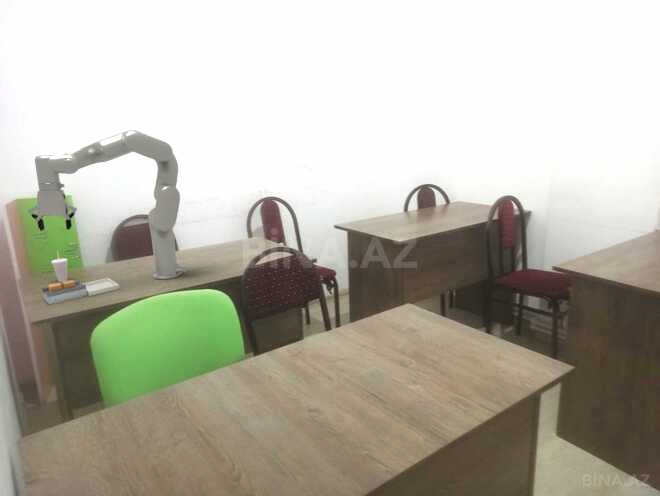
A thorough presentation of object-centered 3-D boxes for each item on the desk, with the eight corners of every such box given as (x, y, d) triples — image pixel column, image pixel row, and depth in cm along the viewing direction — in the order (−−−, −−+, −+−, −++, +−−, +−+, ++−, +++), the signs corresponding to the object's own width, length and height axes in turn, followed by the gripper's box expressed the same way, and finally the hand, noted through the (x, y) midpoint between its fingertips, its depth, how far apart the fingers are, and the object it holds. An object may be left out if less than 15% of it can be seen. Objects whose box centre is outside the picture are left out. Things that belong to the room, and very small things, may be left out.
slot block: (80, 289, 204) (78, 279, 202) (87, 295, 196) (85, 285, 195) (43, 298, 195) (41, 287, 193) (49, 304, 187) (47, 293, 186)
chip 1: (60, 289, 196) (59, 282, 195) (62, 291, 193) (61, 284, 192) (49, 291, 193) (48, 284, 192) (51, 294, 190) (50, 287, 189)
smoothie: (54, 284, 212) (49, 253, 209) (55, 280, 218) (49, 250, 214) (71, 281, 215) (65, 251, 212) (71, 277, 221) (65, 248, 217)
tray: (108, 281, 213) (108, 277, 212) (119, 289, 203) (119, 284, 202) (79, 288, 205) (78, 284, 205) (89, 296, 195) (88, 291, 194)
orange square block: (73, 286, 199) (72, 279, 198) (76, 288, 196) (75, 281, 195) (63, 288, 196) (61, 281, 195) (65, 291, 193) (64, 284, 192)
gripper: (76, 185, 195) (81, 226, 199) (28, 186, 191) (34, 228, 195) (71, 187, 188) (76, 230, 192) (21, 188, 184) (28, 232, 188)
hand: (55, 229), depth 193 cm, fingers open, 9 cm apart
